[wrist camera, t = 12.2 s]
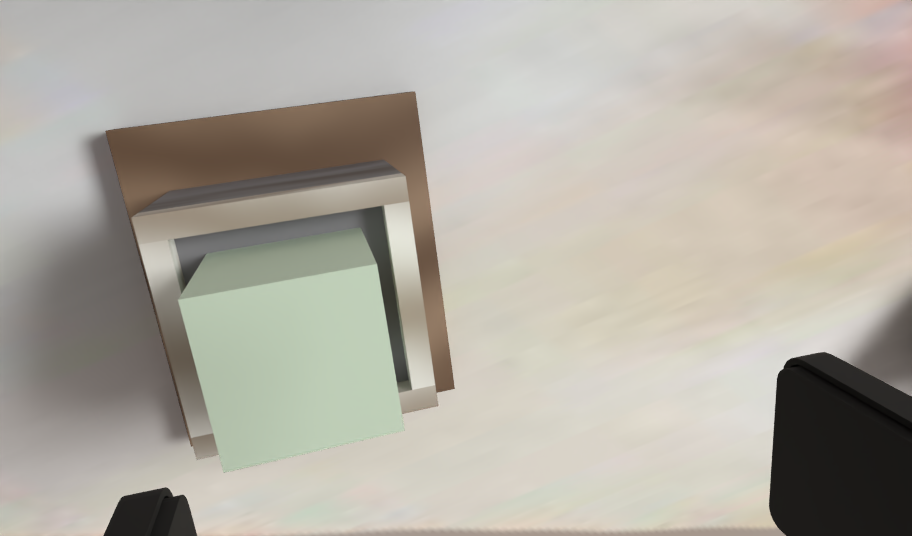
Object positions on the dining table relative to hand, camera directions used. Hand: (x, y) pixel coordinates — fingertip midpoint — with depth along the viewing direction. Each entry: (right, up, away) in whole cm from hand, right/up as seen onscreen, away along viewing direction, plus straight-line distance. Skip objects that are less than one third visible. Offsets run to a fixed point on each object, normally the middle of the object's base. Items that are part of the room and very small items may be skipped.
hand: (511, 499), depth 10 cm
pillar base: (-9, +4, +23) cm, 25 cm away
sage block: (-7, +2, +16) cm, 18 cm away
